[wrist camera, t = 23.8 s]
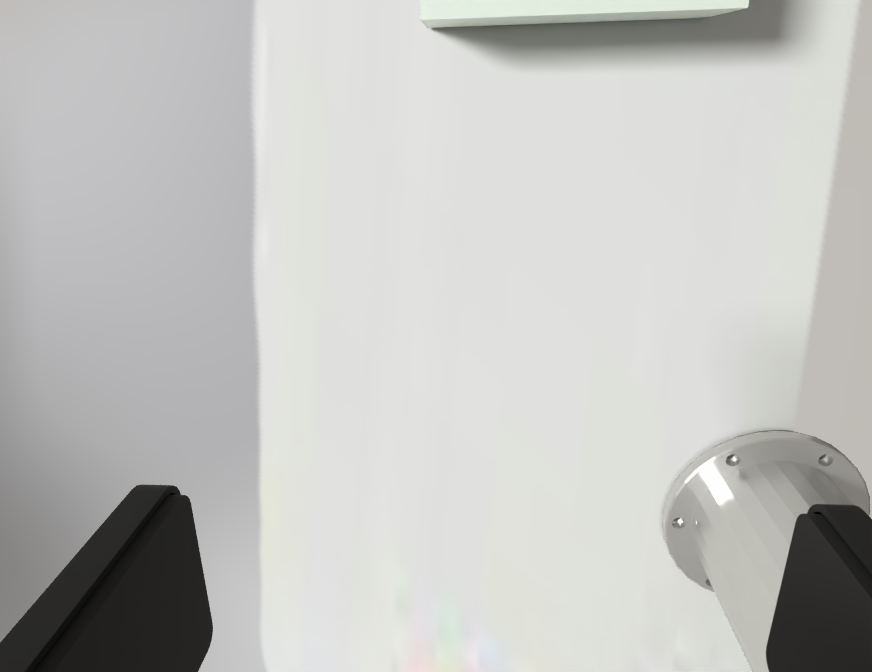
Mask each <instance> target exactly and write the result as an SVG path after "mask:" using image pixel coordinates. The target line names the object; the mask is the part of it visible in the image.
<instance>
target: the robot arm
mask: <svg viewBox="0 0 872 672" xmlns="http://www.w3.org/2000/svg"><path fill="white" fill-rule="evenodd" d="M869 513H870V496H869V493H868V490H867V487H866V483H865V481H864V479H863V478H862V476H861V474H860V473H859V471H858V469H857V468H856V467H855V466H854V465H853V464H852V463H851V462H850V461H849V459H848V458H847V457H846V456H845V455H844V454H842V453H841V452H840V451H839V450H837V449H836V448H835V447H833V446H832V445H831V444H829V443H826V442H824V441H822V440H820V439H818V438H816V437H813V436H809V435H805V434H801V433H798V432H787V431H768V432H756V433H752V434H748V435H744V436H740V437H736V438H734V439H731V440H729V441H726V442H724V443H721V444H719V445H717V446H715V447H714V448H712V449H710V450H709V451H707V452H705V453H704V454H702V455H701V456H699V457H698V458H697V459H696V460H695V461H693V462H692V463H691V464H690V465H689V466H688V467H687V468H686V469H685V470H684V471H683V472H682V473H681V475H680V476H679V477H678V478H677V479H676V481H675V482H674V484H673V486H672V488H671V490H670V491H669V493H668V495H667V498H666V501H665V505H664V508H663V514H662V530H663V535H664V540H665V542H666V545H667V547H668V550H669V553H670V555H671V557H672V558H673V560H674V562H675V563H676V565H677V567H678V568H679V569H680V570H681V571H682V572H683V573H684V574H685V575H686V576H687V577H688V578H689V579H691V580H692V581H694V582H695V583H697V584H698V585H700V586H701V587H703V588H706V589H708V590H710V591H713V592H715V594H716V596H717V598H718V600H719V602H720V604H721V606H722V608H723V611H724V613H725V615H726V617H727V619H728V621H729V623H730V625H731V627H732V630H733V632H734V634H735V636H736V638H737V640H738V642H739V644H740V646H741V649H742V651H743V653H744V655H745V657H746V659H747V661H748V663H749V665H750V668H751V670H752V672H872V519H871V518H870V517H869ZM212 632H213V625H212V618H211V613H210V607H209V602H208V596H207V590H206V585H205V580H204V574H203V568H202V563H201V557H200V552H199V546H198V540H197V535H196V530H195V524H194V518H193V513H192V508H191V502H190V499H189V498H188V497H187V496H186V495H181V494H180V491H179V490H178V488H177V487H175V486H170V485H168V486H167V485H138V486H136V487H135V488H133V489H132V490H131V491H130V493H129V494H128V495H127V496H126V497H125V498H124V500H123V501H122V502H121V503H120V504H119V505H118V507H117V508H116V509H115V510H114V511H113V512H112V513H111V515H110V516H109V517H108V518H107V519H106V520H105V522H104V523H103V524H102V525H101V526H100V527H99V529H98V530H97V531H96V532H95V533H94V534H93V536H92V537H91V538H90V539H89V540H88V541H87V543H86V544H85V545H84V546H83V547H82V548H81V550H80V551H79V552H78V553H77V554H76V555H75V557H74V558H73V559H72V560H71V561H70V562H69V564H68V565H67V566H66V567H65V568H64V569H63V570H62V572H61V573H60V574H59V575H58V577H56V579H55V580H54V581H53V582H52V583H51V584H50V586H49V587H48V588H47V589H46V590H45V591H44V593H43V594H42V595H41V596H40V597H39V598H38V600H37V601H36V602H35V603H34V604H33V605H32V607H31V608H30V609H29V610H28V611H27V613H26V614H25V615H24V616H23V617H22V618H21V619H20V620H19V622H18V623H17V624H16V625H15V626H14V627H13V629H12V630H11V631H10V632H9V633H8V634H7V636H6V637H5V638H4V639H3V640H2V642H1V643H0V672H198V670H199V668H200V666H201V664H202V662H203V660H204V658H205V656H206V654H207V652H208V649H209V647H210V643H211V639H212Z"/></svg>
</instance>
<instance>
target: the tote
mask: <svg viewBox="0 0 872 672" xmlns="http://www.w3.org/2000/svg"><path fill="white" fill-rule="evenodd" d="M748 5H749V0H420V20H421V21H422V22H423V23H424V24H425V26H426V27H427V28H435V27H462V26H490V25H517V24H545V23H572V22H600V21H627V20H655V19H683V18H707V17H711V16H716V15H720V14H724V13H728V12H733V11H737V10H741V9H745V8H748Z"/></svg>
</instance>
